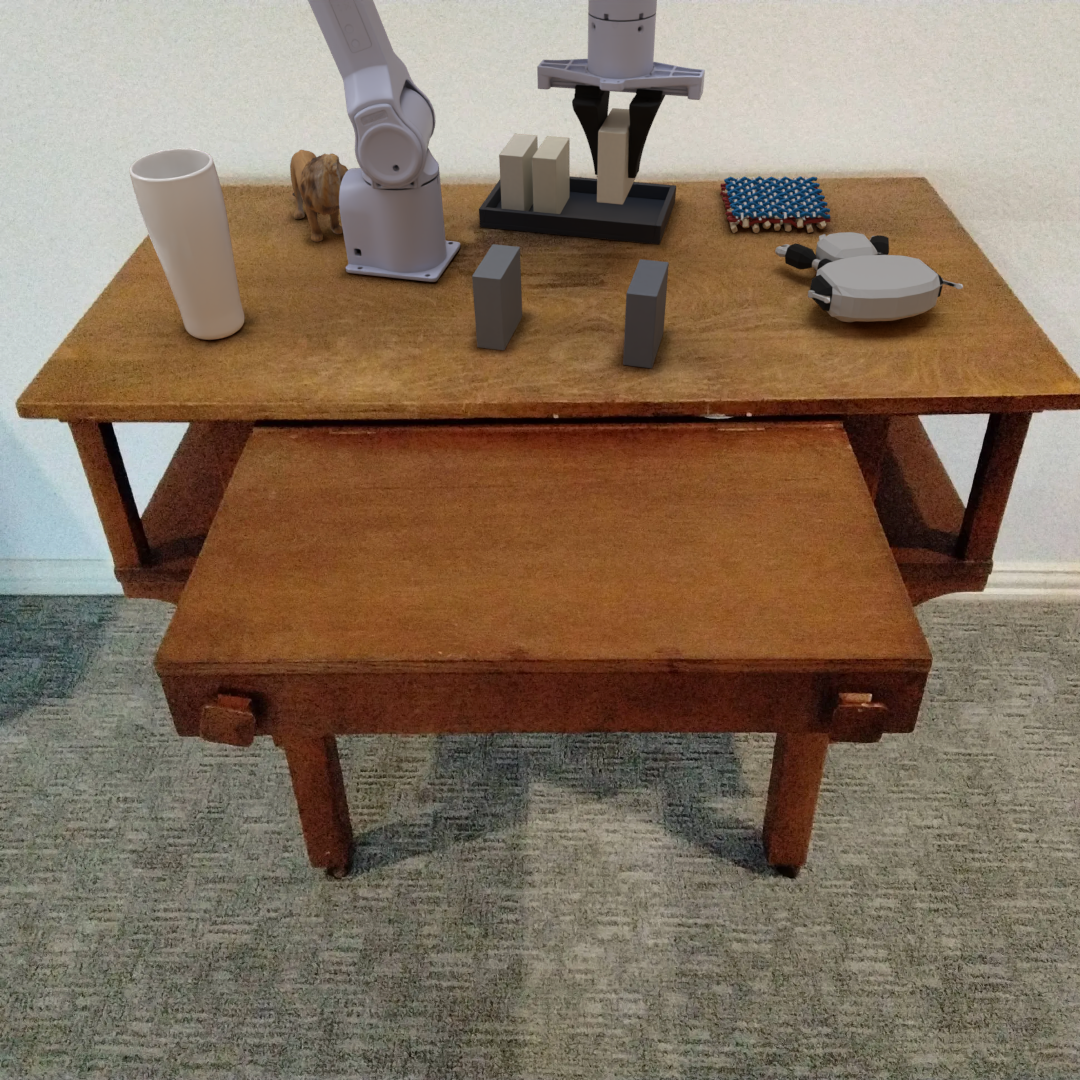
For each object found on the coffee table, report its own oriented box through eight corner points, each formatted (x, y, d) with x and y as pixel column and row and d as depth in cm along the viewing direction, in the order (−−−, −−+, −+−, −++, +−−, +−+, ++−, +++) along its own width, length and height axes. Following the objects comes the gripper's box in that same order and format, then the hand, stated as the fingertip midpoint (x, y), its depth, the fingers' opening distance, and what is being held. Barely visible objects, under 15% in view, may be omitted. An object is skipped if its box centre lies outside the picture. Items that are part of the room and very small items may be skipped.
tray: (479, 227, 103) (478, 208, 101) (506, 188, 110) (505, 170, 108) (659, 244, 99) (661, 225, 97) (675, 203, 106) (676, 185, 105)
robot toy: (763, 275, 95) (823, 344, 84) (769, 230, 92) (831, 295, 81) (882, 263, 97) (957, 330, 85) (891, 218, 94) (969, 281, 82)
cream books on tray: (501, 215, 103) (498, 154, 99) (517, 192, 108) (514, 133, 103) (556, 220, 102) (555, 159, 98) (569, 197, 106) (569, 137, 102)
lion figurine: (373, 242, 100) (360, 155, 94) (325, 256, 98) (309, 168, 92) (315, 194, 110) (300, 112, 103) (271, 206, 107) (253, 122, 101)
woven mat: (717, 191, 108) (719, 173, 107) (813, 191, 107) (816, 173, 106) (726, 233, 100) (728, 214, 99) (830, 233, 100) (834, 214, 98)
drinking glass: (218, 354, 85) (170, 186, 75) (162, 335, 88) (108, 170, 77) (269, 319, 89) (231, 155, 79) (214, 302, 92) (170, 141, 82)
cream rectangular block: (596, 202, 90) (598, 131, 86) (610, 176, 94) (612, 107, 90) (622, 205, 89) (625, 133, 85) (635, 179, 94) (638, 109, 89)
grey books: (477, 347, 85) (471, 276, 80) (496, 313, 89) (492, 243, 85) (652, 368, 82) (657, 296, 77) (663, 332, 86) (668, 261, 82)
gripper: (526, 21, 80) (530, 182, 89) (701, 30, 77) (687, 196, 86) (547, -2, 85) (550, 153, 94) (713, 6, 82) (699, 166, 91)
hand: (616, 172), depth 91 cm, fingers closed on cream rectangular block, 2 cm apart
